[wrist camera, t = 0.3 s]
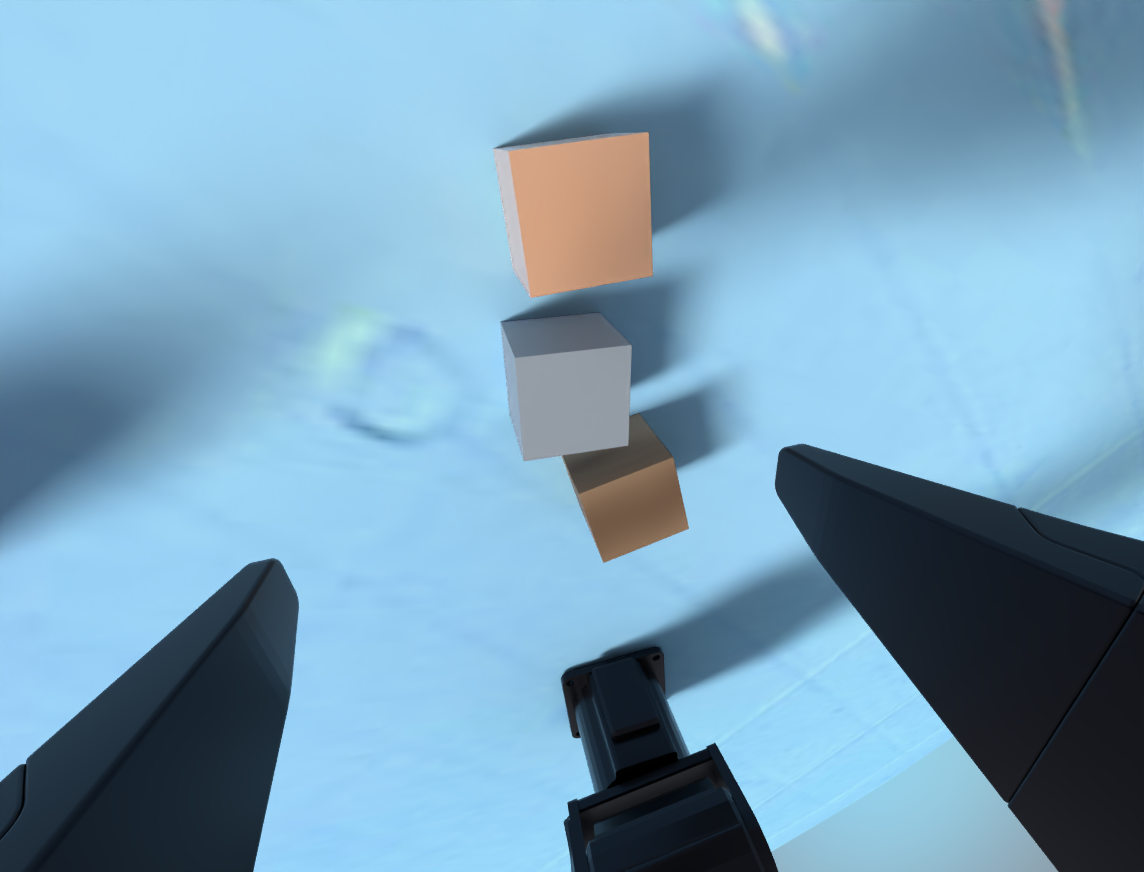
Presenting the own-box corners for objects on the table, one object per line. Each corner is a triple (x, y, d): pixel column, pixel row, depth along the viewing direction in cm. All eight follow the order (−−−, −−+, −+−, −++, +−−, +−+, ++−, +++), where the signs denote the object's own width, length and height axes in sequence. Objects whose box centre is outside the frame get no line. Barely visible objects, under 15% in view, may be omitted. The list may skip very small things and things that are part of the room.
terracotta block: (614, 252, 20) (652, 276, 17) (512, 269, 19) (530, 297, 16) (607, 133, 18) (648, 132, 14) (492, 148, 17) (508, 150, 14)
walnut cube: (654, 477, 26) (688, 528, 23) (580, 507, 26) (603, 562, 22) (638, 412, 24) (673, 457, 20) (557, 443, 24) (578, 494, 20)
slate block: (598, 400, 23) (628, 445, 20) (509, 412, 22) (523, 461, 19) (598, 311, 21) (631, 345, 18) (500, 321, 20) (515, 357, 17)
